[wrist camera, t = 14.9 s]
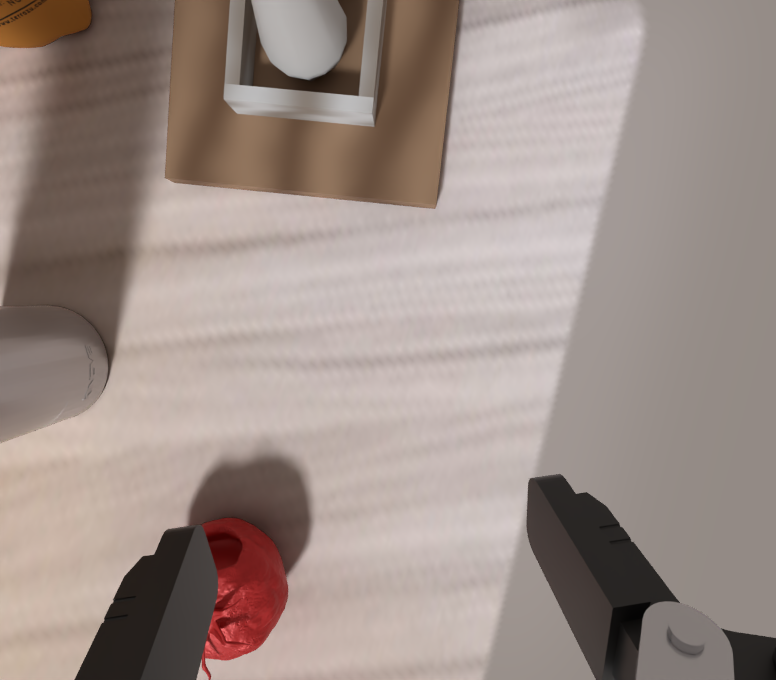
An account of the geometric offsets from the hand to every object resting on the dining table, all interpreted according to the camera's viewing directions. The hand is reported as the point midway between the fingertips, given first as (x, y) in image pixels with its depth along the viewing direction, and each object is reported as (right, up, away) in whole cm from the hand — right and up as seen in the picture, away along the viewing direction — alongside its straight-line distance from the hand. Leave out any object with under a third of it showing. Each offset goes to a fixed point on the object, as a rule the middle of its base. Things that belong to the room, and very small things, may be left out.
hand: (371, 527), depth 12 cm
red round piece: (-12, -14, +27) cm, 33 cm away
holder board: (-5, +25, +23) cm, 35 cm away
